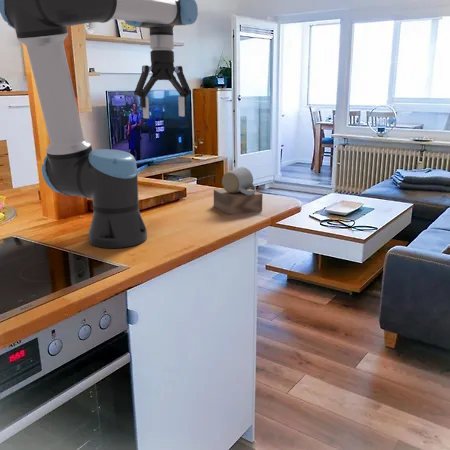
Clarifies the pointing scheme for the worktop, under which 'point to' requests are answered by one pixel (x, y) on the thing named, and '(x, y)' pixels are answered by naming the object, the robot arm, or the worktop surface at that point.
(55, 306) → the worktop surface
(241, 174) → the ceramic mug
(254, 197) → the walnut box
